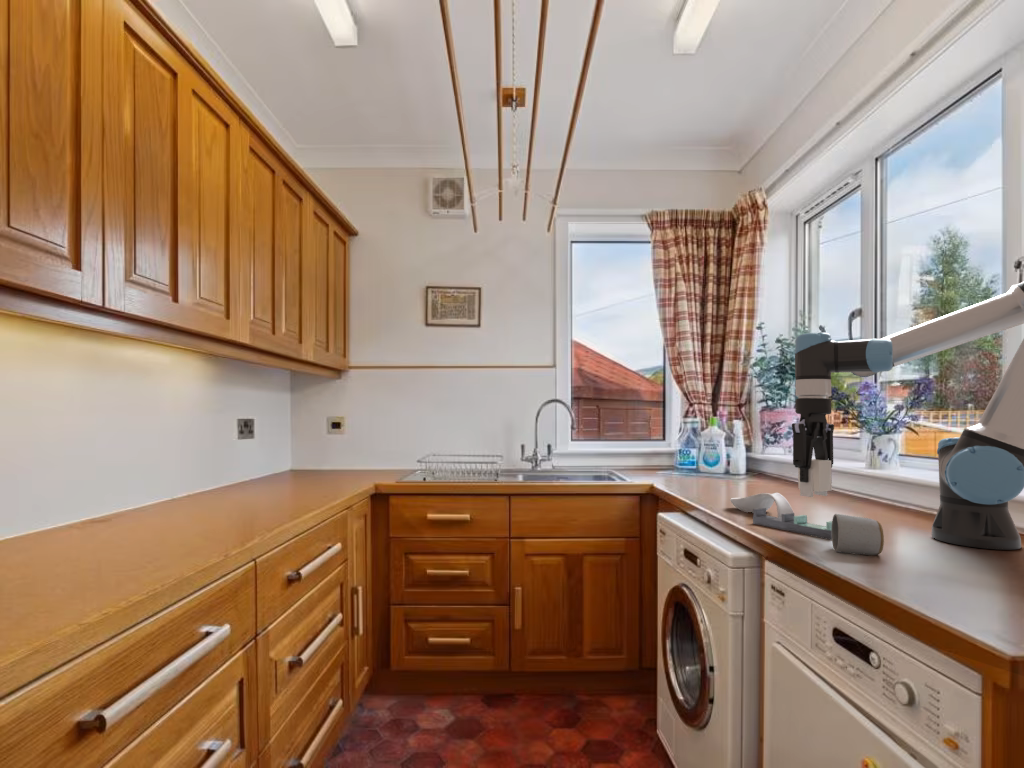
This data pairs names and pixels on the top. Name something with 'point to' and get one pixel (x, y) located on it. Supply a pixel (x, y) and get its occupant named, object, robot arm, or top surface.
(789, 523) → the rail
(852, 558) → the top surface
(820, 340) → the robot arm
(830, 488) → the nylon block
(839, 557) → the top surface
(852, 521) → the grey cylinder
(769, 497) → the spoon rest
